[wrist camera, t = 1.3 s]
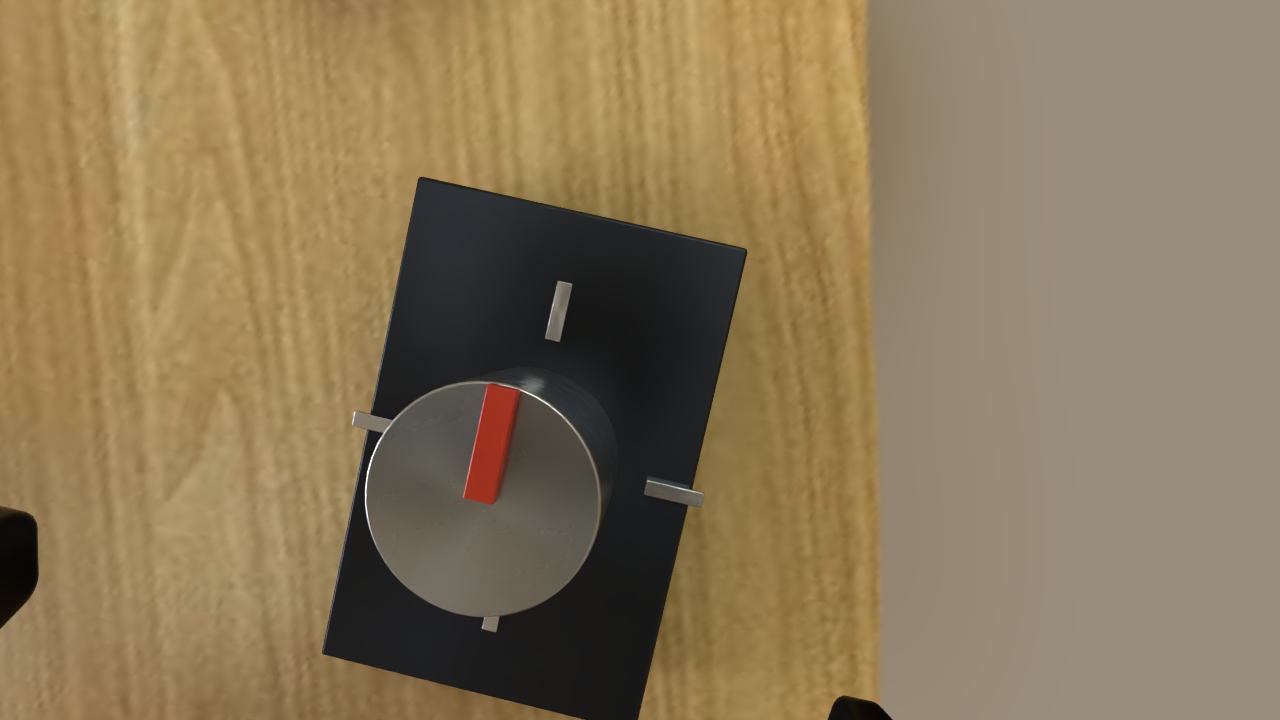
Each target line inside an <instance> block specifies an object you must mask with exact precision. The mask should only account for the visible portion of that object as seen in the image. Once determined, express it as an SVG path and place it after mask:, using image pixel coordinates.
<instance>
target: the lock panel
mask: <svg viewBox="0 0 1280 720" xmlns="http://www.w3.org/2000/svg"><path fill="white" fill-rule="evenodd" d="M746 256H747V249H745V248H741V247H737V246H732V245H728V244H723V243H719V242H714V241H710V240H705V239H701V238H696V237H692V236H687V235H683V234H678V233H674V232H669V231H665V230H660V229H656V228H651V227H647V226H642V225H638V224H633V223H629V222H624V221H620V220H615V219H611V218H606V217H602V216H597V215H593V214H588V213H584V212H579V211H575V210H570V209H566V208H561V207H557V206H552V205H548V204H543V203H539V202H534V201H530V200H525V199H521V198H516V197H512V196H507V195H502V194H498V193H493V192H489V191H484V190H480V189H475V188H471V187H466V186H462V185H457V184H453V183H448V182H444V181H439V180H435V179H430V178H426V177H419V179H418V183H417V188H416V193H415V198H414V203H413V208H412V213H411V218H410V222H409V227H408V232H407V237H406V242H405V247H404V252H403V257H402V262H401V267H400V272H399V277H398V281H397V286H396V291H395V296H394V301H393V306H392V311H391V316H390V321H389V326H388V331H387V336H386V340H385V345H384V350H383V355H382V360H381V365H380V370H379V375H378V380H377V385H376V390H375V395H374V399H373V404H372V409H371V414H370V413H366V412H361V411H355V413H354V418H353V423H352V426H356V427H360V428H364V429H367V434H366V439H365V444H364V449H363V454H362V458H361V463H360V468H359V473H358V478H357V483H356V488H355V493H354V498H353V503H352V508H351V513H350V517H349V522H348V527H347V532H346V537H345V542H344V547H343V552H342V557H341V562H340V567H339V572H338V576H337V581H336V586H335V591H334V596H333V601H332V606H331V611H330V616H329V621H328V626H327V631H326V635H325V640H324V645H323V650H322V653H323V654H324V655H328V656H332V657H336V658H340V659H344V660H348V661H352V662H356V663H360V664H364V665H368V666H372V667H376V668H380V669H384V670H388V671H392V672H396V673H400V674H404V675H408V676H412V677H416V678H420V679H424V680H428V681H432V682H436V683H440V684H444V685H448V686H452V687H456V688H460V689H464V690H468V691H472V692H476V693H480V694H484V695H488V696H492V697H497V698H501V699H505V700H509V701H513V702H517V703H521V704H525V705H529V706H533V707H537V708H541V709H545V710H549V711H553V712H557V713H561V714H565V715H569V716H573V717H577V718H581V719H585V720H638V717H639V713H640V709H641V704H642V700H643V696H644V692H645V687H646V683H647V679H648V675H649V670H650V666H651V662H652V657H653V653H654V649H655V645H656V640H657V636H658V632H659V628H660V623H661V619H662V615H663V610H664V606H665V602H666V598H667V593H668V589H669V585H670V581H671V576H672V572H673V568H674V564H675V559H676V555H677V551H678V546H679V542H680V538H681V534H682V529H683V525H684V521H685V517H686V512H687V508H688V505H690V506H694V507H699V508H701V507H702V503H703V499H704V495H705V494H704V492H701V491H697V490H693V489H692V487H693V482H694V478H695V474H696V470H697V465H698V461H699V457H700V452H701V448H702V444H703V440H704V435H705V431H706V427H707V423H708V418H709V414H710V410H711V405H712V401H713V397H714V393H715V388H716V384H717V380H718V376H719V371H720V367H721V363H722V358H723V354H724V350H725V346H726V341H727V337H728V333H729V329H730V324H731V320H732V316H733V311H734V307H735V303H736V299H737V294H738V290H739V286H740V282H741V277H742V273H743V269H744V265H745V260H746ZM517 367H536V368H542V369H547V370H550V371H554V372H557V373H560V374H562V375H564V376H566V377H569V378H570V379H572V380H574V381H575V382H577V383H578V384H580V385H581V386H582V387H584V388H585V389H586V390H587V391H588V392H590V394H591V395H592V396H593V397H594V398H595V399H596V400H597V401H598V402H599V404H600V405H601V407H602V408H603V409H604V411H605V413H606V414H607V416H608V418H609V420H610V422H611V425H612V427H613V430H614V432H615V436H616V441H617V445H618V454H619V464H618V474H617V480H616V484H615V487H614V490H613V493H612V496H611V499H610V501H609V504H608V507H607V509H606V512H605V515H604V518H603V520H602V523H601V526H600V528H599V531H598V534H597V537H596V539H595V542H594V544H593V547H592V549H591V551H590V553H589V555H588V557H587V559H586V561H585V562H584V564H583V565H582V567H581V569H580V570H579V571H578V572H577V574H576V575H575V576H574V577H573V578H572V580H571V581H570V582H569V583H568V584H567V585H566V586H564V587H563V588H562V589H561V590H560V591H559V592H558V593H556V594H555V595H553V596H552V597H551V598H549V599H548V600H546V601H544V602H542V603H540V604H538V605H537V606H535V607H533V608H530V609H527V610H524V611H522V612H519V613H514V614H510V615H505V616H496V617H474V616H467V615H462V614H457V613H453V612H450V611H447V610H444V609H441V608H439V607H437V606H435V605H433V604H430V603H428V602H427V601H425V600H424V599H422V598H420V597H419V596H417V595H416V594H414V593H413V592H412V591H411V590H409V589H408V588H407V587H406V586H405V585H403V584H402V583H401V581H400V580H399V579H398V578H397V577H396V576H395V575H394V574H393V573H392V572H391V570H390V569H389V567H388V566H387V565H386V563H385V562H384V560H383V559H382V557H381V555H380V553H379V551H378V550H377V548H376V545H375V543H374V540H373V538H372V535H371V533H370V529H369V525H368V521H367V516H366V508H365V485H366V477H367V471H368V467H369V464H370V460H371V457H372V454H373V452H374V450H375V447H376V445H377V443H378V441H379V439H380V438H381V436H382V434H383V433H384V431H385V429H386V428H387V427H388V426H389V424H390V423H391V422H392V421H393V419H394V418H395V417H396V416H397V415H398V414H399V413H400V412H401V411H402V410H403V409H404V408H405V407H407V406H408V405H409V404H411V403H412V402H413V401H415V400H416V399H417V398H419V397H421V396H423V395H425V394H426V393H428V392H430V391H432V390H435V389H437V388H440V387H443V386H445V385H449V384H452V383H456V382H460V381H464V380H467V379H471V378H475V377H478V376H482V375H486V374H490V373H493V372H497V371H501V370H505V369H509V368H517Z"/></svg>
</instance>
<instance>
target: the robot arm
mask: <svg viewBox="0 0 1280 720" xmlns="http://www.w3.org/2000/svg"><path fill="white" fill-rule="evenodd" d="M38 576H39V567H38V527H37V522H36V521H35V519H34V517H33V516H32V515H30V514H29V513H27V512H24V511H19V510H15V509H10V508H6V507H2V506H0V629H1V628H2V627H3V626H4V625H5V624H6V623H7V622H8V620H9V619H10V618H11V617H12V616H13V615H14V614H15V613H16V612H17V611H18V610H19V609H20V608H21V607H22V606H23V605H24V604H25V603H26V602H27V601H28V599H29V598H30V597H31V595H32V594H33V592H34V590H35V588H36V585H37V582H38ZM828 720H892V719H891V717H890V716H889V715H888V714H887V713H886V712H885V711H884V710H883V709H882V708H881V707H880V706H879V705H878V704H876V703H874V702H872V701H868V700H863V699H859V698H854V697H850V696H841V697H839V698H837V700H836V701H835V702H834V704H833V706H832V709H831V712H830V714H829V717H828Z"/></svg>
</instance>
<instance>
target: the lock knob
mask: <svg viewBox="0 0 1280 720" xmlns="http://www.w3.org/2000/svg"><path fill="white" fill-rule="evenodd" d="M618 464H619V454H618V445H617V441H616V436H615V432H614V430H613V427H612V425H611V422H610V420H609V418H608V416H607V414H606V413H605V411H604V409H603V408H602V407H601V405H600V404H599V402H598V401H597V400H596V399H595V398H594V397H593V396H592V395H591V394H590V392H588V391H587V390H586V389H585V388H584V387H582V386H581V385H580V384H578V383H577V382H575V381H574V380H572V379H570V378H569V377H566V376H564V375H562V374H560V373H557V372H554V371H550V370H547V369H542V368H536V367H517V368H509V369H505V370H501V371H497V372H493V373H490V374H486V375H482V376H478V377H475V378H471V379H467V380H464V381H460V382H456V383H452V384H449V385H445V386H443V387H440V388H437V389H435V390H432V391H430V392H428V393H426V394H425V395H423V396H421V397H419V398H417V399H416V400H415V401H413V402H412V403H411V404H409V405H408V406H407V407H405V408H404V409H403V410H402V411H401V412H400V413H399V414H398V415H397V416H396V417H395V418H394V419H393V421H392V422H391V423H390V424H389V426H388V427H387V428H386V429H385V431H384V433H383V434H382V436H381V438H380V439H379V441H378V443H377V445H376V447H375V450H374V452H373V454H372V457H371V460H370V464H369V467H368V471H367V477H366V485H365V508H366V516H367V521H368V525H369V529H370V533H371V535H372V538H373V540H374V543H375V545H376V548H377V550H378V551H379V553H380V555H381V557H382V559H383V560H384V562H385V563H386V565H387V566H388V567H389V569H390V570H391V572H392V573H393V574H394V575H395V576H396V577H397V578H398V579H399V580H400V581H401V583H402V584H403V585H405V586H406V587H407V588H408V589H409V590H411V591H412V592H413V593H414V594H416V595H417V596H419V597H420V598H422V599H424V600H425V601H427V602H428V603H430V604H433V605H435V606H437V607H439V608H441V609H444V610H447V611H450V612H453V613H457V614H462V615H467V616H474V617H496V616H505V615H510V614H514V613H519V612H522V611H524V610H527V609H530V608H533V607H535V606H537V605H538V604H540V603H542V602H544V601H546V600H548V599H549V598H551V597H552V596H553V595H555V594H556V593H558V592H559V591H560V590H561V589H562V588H563V587H564V586H566V585H567V584H568V583H569V582H570V581H571V580H572V578H573V577H574V576H575V575H576V574H577V572H578V571H579V570H580V569H581V567H582V565H583V564H584V562H585V561H586V559H587V557H588V555H589V553H590V551H591V549H592V547H593V544H594V542H595V539H596V537H597V534H598V531H599V528H600V526H601V523H602V520H603V518H604V515H605V512H606V509H607V507H608V504H609V501H610V499H611V496H612V493H613V490H614V487H615V484H616V480H617V474H618Z"/></svg>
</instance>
